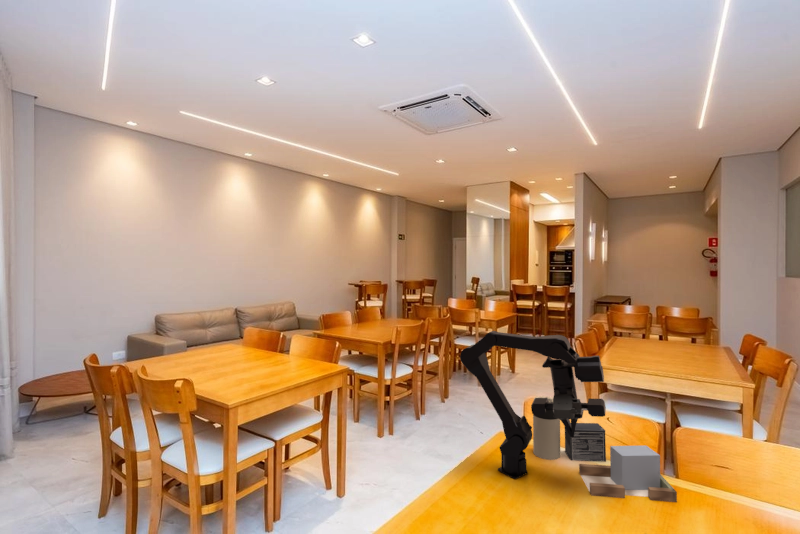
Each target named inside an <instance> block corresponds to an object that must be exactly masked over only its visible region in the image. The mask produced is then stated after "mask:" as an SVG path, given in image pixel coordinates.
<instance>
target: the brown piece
mask: <svg viewBox="0 0 800 534" xmlns="http://www.w3.org/2000/svg"><path fill="white" fill-rule="evenodd" d="M578 468H579V469H578V472H579V475H580V477H581V479H582V481H583V483H584V485H585V486H586V488H587V490H588V492H589V494H590V495H591V497H592V496H593V497H607V498H618V499H625V498H626V496H631V497H645V498H646V497H647V498H648V499H649V500H650V501H655V502H656V501H657V502H658V501H659V502H669V503H671V502H672V503H677V502H678V499H677V498H678V496H677V494H678V493H677V490H676V489H675V488H674V487H673V486H672V485H671V483H669V482H668V481H667V479H666V478H665V477H664V476H663V475H662V474H661V473H660V488H656V487H648V490H625V488H624V486H623V485H617V484H616V483H615V482H614V481H613V480H612V479H611V465H605V464H604V465H603V464H588V463H579V464H578Z"/></svg>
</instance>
